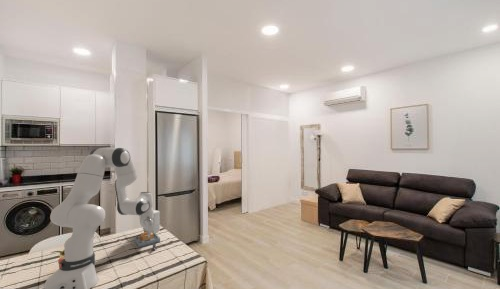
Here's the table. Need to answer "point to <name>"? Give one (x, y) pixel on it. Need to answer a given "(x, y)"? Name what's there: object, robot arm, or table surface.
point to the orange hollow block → (145, 236)
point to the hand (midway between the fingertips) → (147, 235)
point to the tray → (147, 242)
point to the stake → (154, 247)
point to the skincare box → (156, 221)
